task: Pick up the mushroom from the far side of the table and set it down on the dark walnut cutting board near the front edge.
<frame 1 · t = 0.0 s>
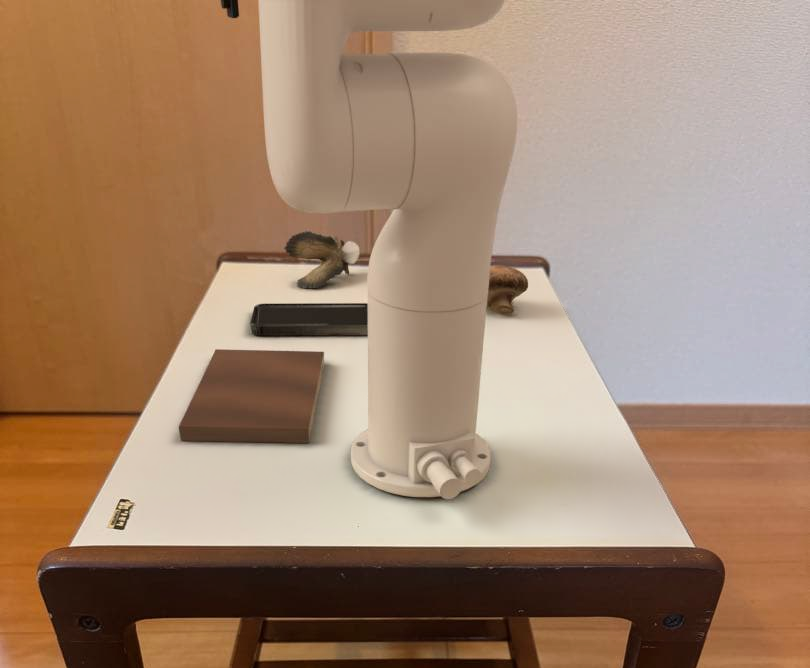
hand: (276, 17, 87), 31 cm above the table, tool pointing down, fingers open, 9 cm apart
mushroom: (495, 310, 104), on the table
cutting board: (259, 399, 81), on the table
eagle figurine: (324, 280, 112), on the table
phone: (314, 324, 98), on the table
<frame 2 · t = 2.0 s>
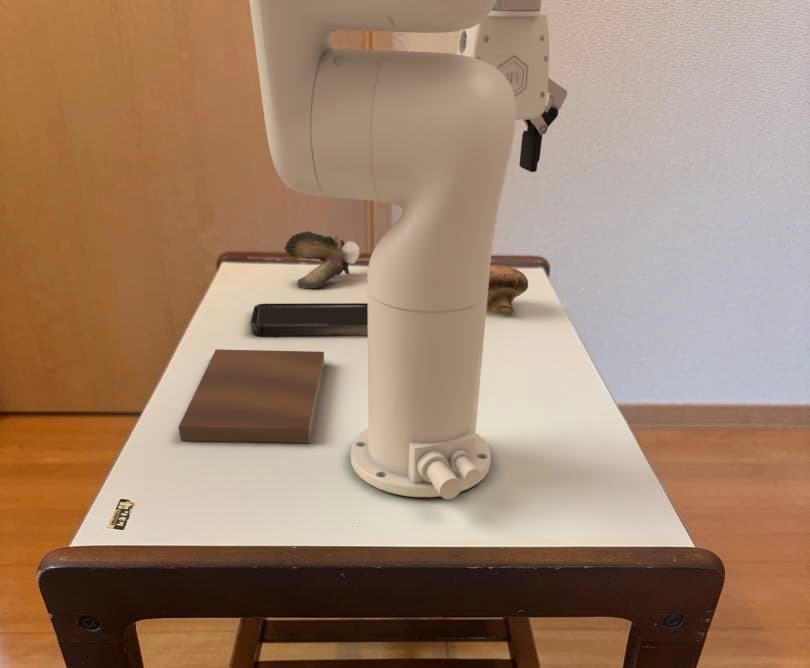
hand: (492, 172, 94), 17 cm above the table, tool pointing down, fingers open, 9 cm apart
nothing on the table moved.
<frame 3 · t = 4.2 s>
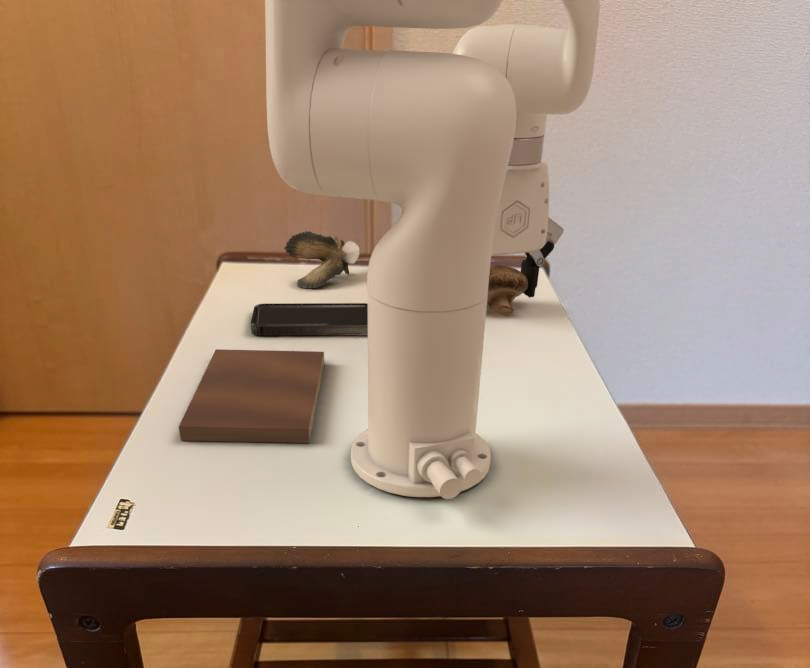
hand: (496, 297, 103), 2 cm above the table, tool pointing down, fingers closed on mushroom, 8 cm apart
mushroom: (495, 310, 104), on the table, touching gripper
everything else where it was.
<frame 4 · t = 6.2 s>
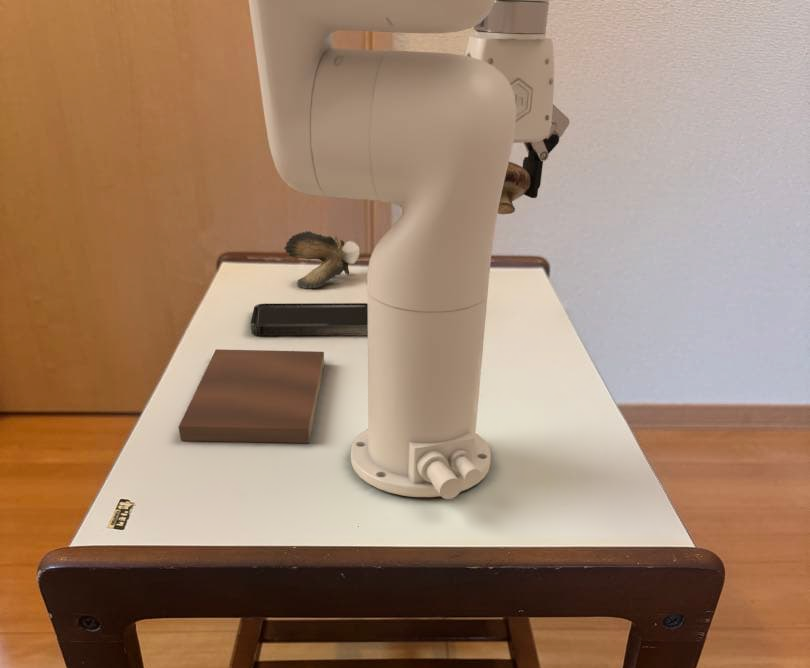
hand: (495, 196, 94), 14 cm above the table, tool pointing down, fingers closed on mushroom, 8 cm apart
mushroom: (494, 213, 95), point 12 cm above the table, touching gripper
everything else where it was.
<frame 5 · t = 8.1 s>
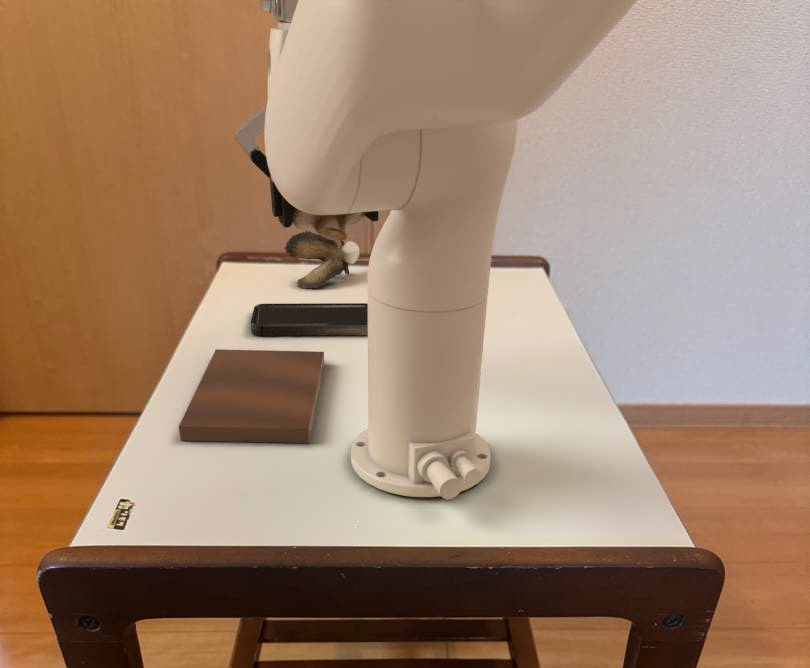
hand: (328, 220, 78), 16 cm above the table, tool pointing down, fingers closed on mushroom, 8 cm apart
mushroom: (329, 238, 79), point 14 cm above the table, touching gripper
everything else where it was.
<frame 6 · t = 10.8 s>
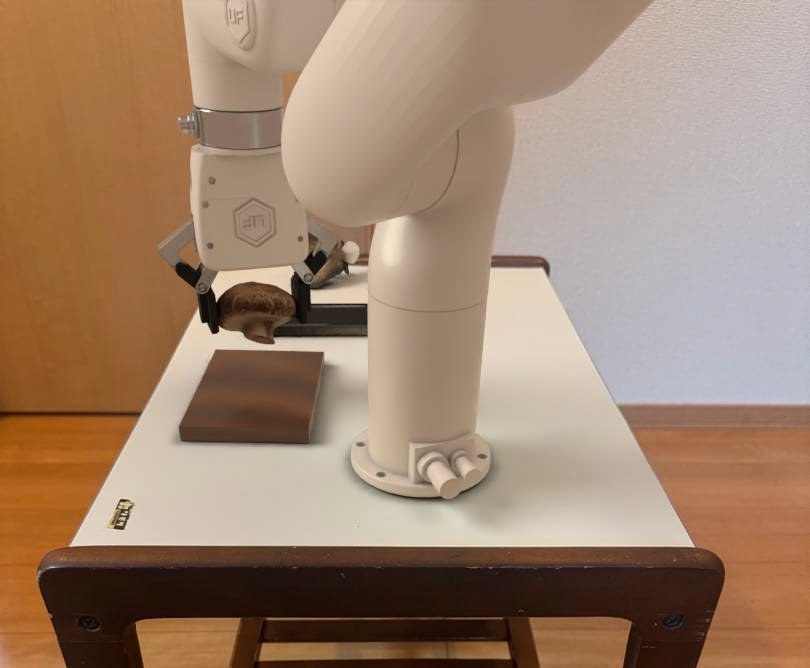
hand: (257, 323, 79), 7 cm above the table, tool pointing down, fingers closed on mushroom, 8 cm apart
mushroom: (258, 340, 80), point 5 cm above the table, touching gripper
everything else where it was.
when the fingers open (3 cm above the table, at t = 12.5 s): mushroom stays where it is, resting on cutting board.
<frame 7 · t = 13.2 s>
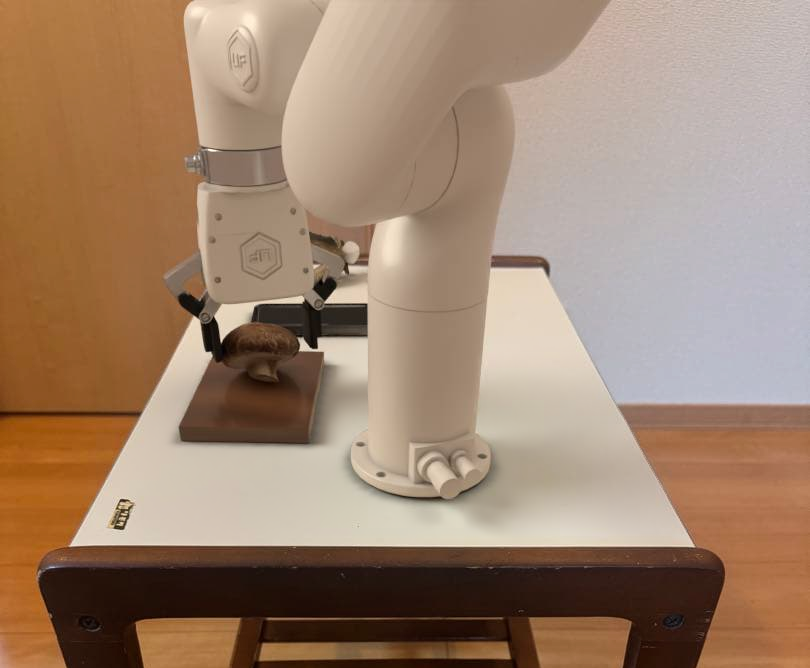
hand: (264, 350, 80), 4 cm above the table, tool pointing down, fingers open, 9 cm apart
mushroom: (262, 377, 82), point 1 cm above the table, touching cutting board
everything else where it was.
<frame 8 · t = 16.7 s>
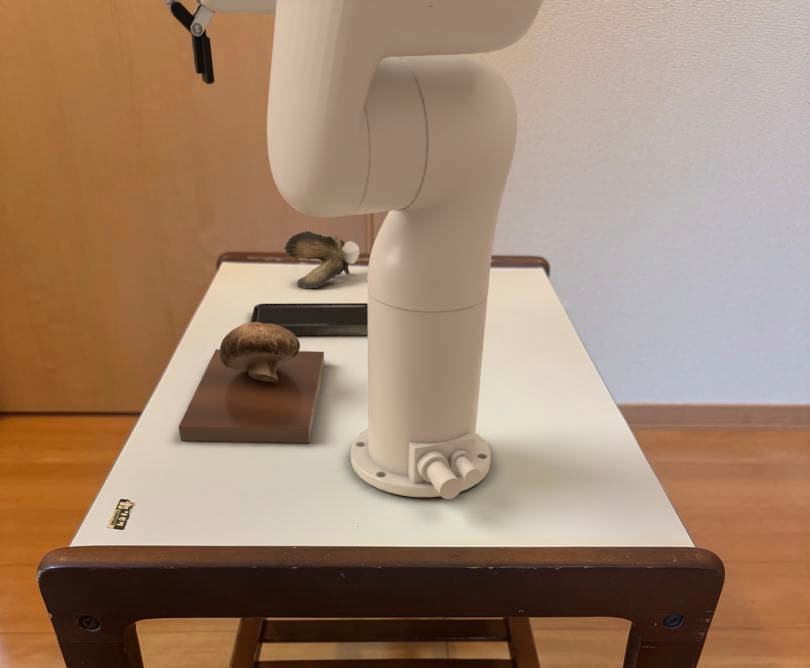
hand: (255, 81, 81), 26 cm above the table, tool pointing down, fingers open, 9 cm apart
nothing on the table moved.
at the end: mushroom inside the target area on the cutting board (2.1 cm from its centre), point 1.3 cm above the cutting board's base; mushroom tilted 0°; the gripper is holding nothing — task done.
